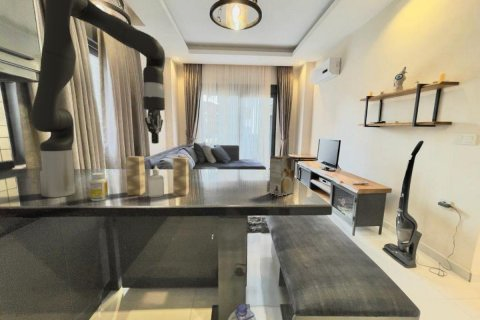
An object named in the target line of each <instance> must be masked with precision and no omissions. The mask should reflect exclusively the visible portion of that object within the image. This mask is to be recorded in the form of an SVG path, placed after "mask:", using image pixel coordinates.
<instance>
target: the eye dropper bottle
mask: <svg viewBox="0 0 480 320" xmlns="http://www.w3.org/2000/svg"><path fill="white" fill-rule="evenodd" d="M164 178H165V177H164V176H163V175H161V174H160V169H159V168H158V165H155V166H154V167H153V169H152V175H150V176H148V180H147V181H148V184H147V185H148V197H149V198H159V197H164V196H165V187H164V186H165V183H164V182H165V180H164Z"/></svg>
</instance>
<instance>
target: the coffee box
mask: <svg viewBox="0 0 480 320" xmlns="http://www.w3.org/2000/svg"><path fill="white" fill-rule="evenodd" d="M269 161H270V165H269V166H270V167H269V169H270V171H269V193H271V194H270V195H272V194H275V195H274V196H276V195H278V196H277V197H279V196H282V197H284V196H283V195H286V196H288V195H287V194H289V195H291V194H290V193H293V194H294V188H295V167H296V156H290V155H279V156H278V155H276V156H270V160H269ZM269 193H268V194H269Z"/></svg>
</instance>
